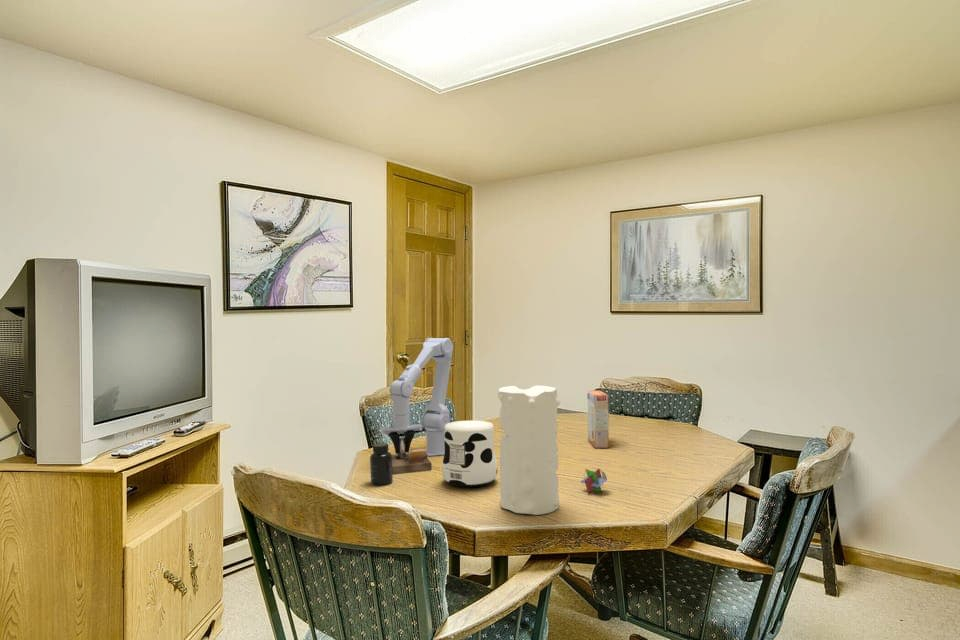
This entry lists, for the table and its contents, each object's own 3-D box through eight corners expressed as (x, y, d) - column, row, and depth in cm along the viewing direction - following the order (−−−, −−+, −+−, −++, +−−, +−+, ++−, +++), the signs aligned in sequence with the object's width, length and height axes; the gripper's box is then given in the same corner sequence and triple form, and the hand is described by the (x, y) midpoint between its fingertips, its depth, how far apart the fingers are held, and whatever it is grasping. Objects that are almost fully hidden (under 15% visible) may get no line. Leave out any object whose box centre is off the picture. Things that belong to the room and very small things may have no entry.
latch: (423, 458, 188) (422, 455, 188) (426, 450, 183) (425, 447, 184) (409, 460, 186) (408, 456, 187) (411, 452, 182) (411, 448, 182)
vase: (567, 515, 138) (564, 391, 138) (504, 518, 137) (502, 393, 137) (552, 494, 155) (550, 383, 155) (496, 496, 154) (495, 385, 154)
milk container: (491, 473, 178) (490, 418, 178) (502, 489, 161) (501, 429, 161) (439, 476, 175) (438, 421, 175) (445, 493, 158) (444, 432, 158)
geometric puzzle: (590, 490, 151) (601, 465, 154) (572, 484, 157) (583, 460, 159) (604, 502, 155) (614, 476, 157) (586, 495, 160) (596, 471, 163)
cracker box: (609, 448, 208) (609, 394, 208) (594, 448, 209) (593, 394, 209) (602, 440, 222) (601, 389, 222) (587, 440, 223) (586, 390, 223)
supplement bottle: (384, 478, 174) (383, 441, 174) (396, 482, 169) (396, 444, 169) (366, 483, 169) (365, 444, 169) (378, 487, 164) (377, 448, 164)
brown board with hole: (421, 458, 198) (421, 448, 198) (431, 470, 183) (431, 459, 183) (383, 462, 193) (383, 452, 193) (390, 474, 178) (390, 463, 178)
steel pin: (404, 456, 193) (404, 436, 193) (407, 457, 190) (406, 437, 190) (396, 457, 191) (396, 437, 192) (399, 458, 189) (398, 438, 189)
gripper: (417, 410, 197) (418, 447, 197) (378, 414, 191) (379, 452, 191) (423, 413, 191) (424, 452, 191) (383, 417, 185) (384, 456, 185)
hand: (402, 452), depth 190 cm, fingers closed on steel pin, 3 cm apart
